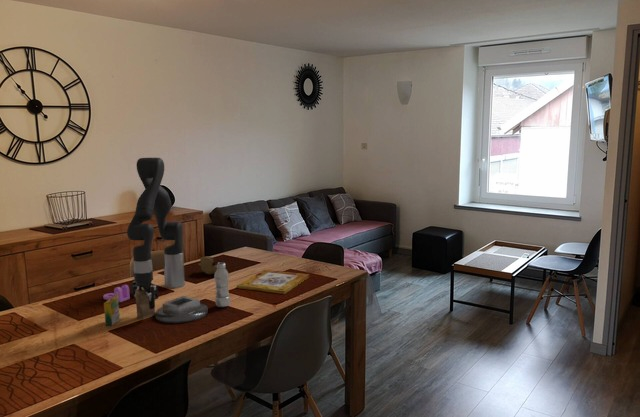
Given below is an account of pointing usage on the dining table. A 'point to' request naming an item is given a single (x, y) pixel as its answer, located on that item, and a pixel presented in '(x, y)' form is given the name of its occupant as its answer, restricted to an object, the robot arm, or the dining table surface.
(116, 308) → the crayon box
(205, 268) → the wooden carving
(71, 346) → the dining table surface
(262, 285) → the picture frame
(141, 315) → the tan rectangular block
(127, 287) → the bracket
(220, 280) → the plastic bottle
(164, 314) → the grey round socket base
